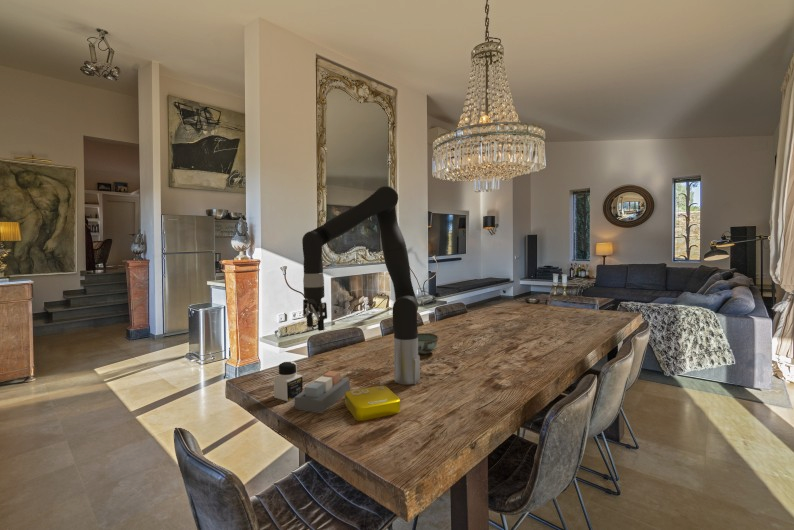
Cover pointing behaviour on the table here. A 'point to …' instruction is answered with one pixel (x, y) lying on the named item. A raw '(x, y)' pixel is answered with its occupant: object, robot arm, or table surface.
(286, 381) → the medicine bottle
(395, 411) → the element tile
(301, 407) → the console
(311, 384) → the slate key
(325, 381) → the ivory key
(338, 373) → the terracotta key
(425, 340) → the bowl
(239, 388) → the table surface
